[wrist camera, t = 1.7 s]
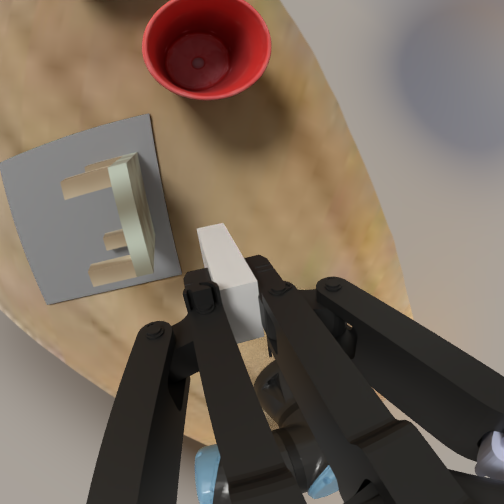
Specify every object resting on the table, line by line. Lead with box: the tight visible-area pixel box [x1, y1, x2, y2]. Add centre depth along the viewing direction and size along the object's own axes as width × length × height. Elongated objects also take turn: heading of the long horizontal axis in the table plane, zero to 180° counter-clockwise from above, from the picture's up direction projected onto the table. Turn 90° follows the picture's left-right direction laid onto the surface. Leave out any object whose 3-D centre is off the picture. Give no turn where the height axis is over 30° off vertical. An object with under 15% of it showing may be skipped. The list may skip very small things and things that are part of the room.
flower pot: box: [142, 0, 271, 100], centre depth 24 cm, size 11×11×10 cm
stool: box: [60, 152, 155, 287], centre depth 28 cm, size 10×6×10 cm, turn 7°
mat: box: [0, 114, 182, 305], centre depth 32 cm, size 20×20×1 cm
